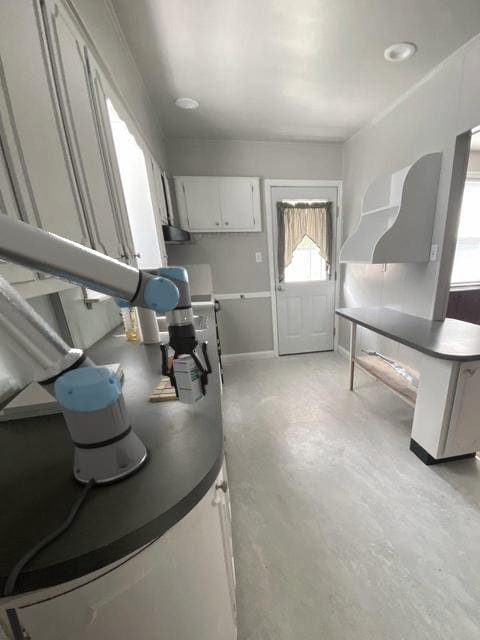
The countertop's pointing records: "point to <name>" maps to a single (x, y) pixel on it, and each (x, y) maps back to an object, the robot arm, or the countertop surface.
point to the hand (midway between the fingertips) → (191, 394)
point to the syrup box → (188, 380)
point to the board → (164, 391)
